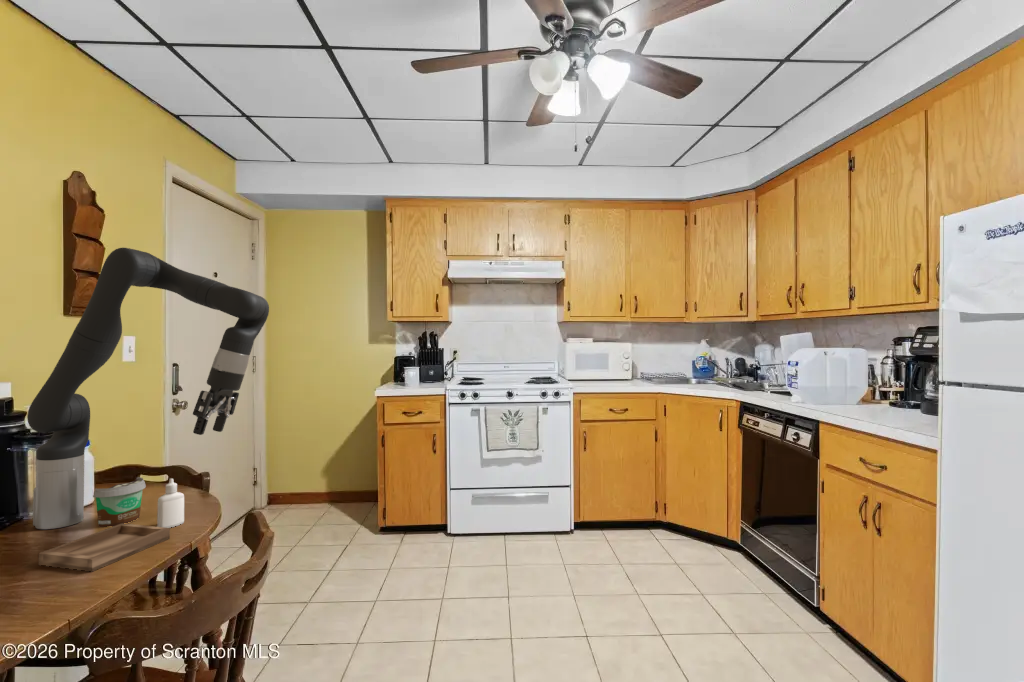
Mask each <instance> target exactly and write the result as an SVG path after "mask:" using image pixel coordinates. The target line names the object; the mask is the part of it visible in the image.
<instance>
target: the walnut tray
mask: <svg viewBox="0 0 1024 682" xmlns="http://www.w3.org/2000/svg"><path fill="white" fill-rule="evenodd" d="M170 533H171V528H164V527H157V526H154V525H153V526H152V525H142V524H131V523H128V524H124V523H122V524H119V525H116V526H113V527H107V528H105V529H103V530H100V531H97V532H94V533H91V534H89V535H86V536H83V537H80V538H77V539H74V540H72V541H69V542H65V543H63V544H61V545H57V546H55V547H53V548H49V549H46V550H44V551H41V552H39V553H38V566H41V565H46V566H45V567H49V566H52V567H51V568H57V567H60V568H59V569H65V568H69V569H68V570H73V569H77V570H76V571H81V570H85V571H84V572H89V571H91V572H92V573H93V572H96V571H98V570H100V569H102V568H105V567H106V566H109V565H112V564H113V563H116V562H118V560H119V561H121V560H123V559H125V558H128V557H130V556H132V555H135V554H137V553H139V552H141V551H144V550H146V549H149V548H151V547H153V546H156V545H158V544H161V543H162V542H165V541H167V540H170V538H171V535H170ZM104 566H105V567H104ZM101 567H102V568H101ZM97 569H98V570H97ZM91 572H90V573H91Z"/></svg>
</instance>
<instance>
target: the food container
mask: <svg viewBox="0 0 1024 682" xmlns="http://www.w3.org/2000/svg"><path fill="white" fill-rule="evenodd" d="M146 487H147V485H146V482H145V480H144V478H143V477H141V476H140V477H139V476H137V477H136V480H133V481H130V482H126V483H118V484H115V485H112V486H110V487H108V488H94V491H93V495H92V498H95V503H96V514H97V516H96V517H97V523H98V524H97V525H98V526H97V527H98V528H108V527H107V526H116V525H119V524H122V523H128V522H131V521H133V520H136V519H137V518H139V519H140V517H141V516H140V514H141V507H142V500H143V499H142V497H143V490H144V489H145V488H146ZM139 516H140V517H139ZM136 521H137V520H136ZM131 523H132V522H131ZM128 524H129V523H128Z"/></svg>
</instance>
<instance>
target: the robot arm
mask: <svg viewBox="0 0 1024 682" xmlns="http://www.w3.org/2000/svg"><path fill="white" fill-rule="evenodd" d="M131 287H139V288H145V287H146V288H152V289H153V288H154V289H158V290H159V289H160V290H165V291H168V292H171V293H175V294H177V295H179V296H181V297H183V298H184V299H185V300H188V301H190V302H192V303H195V304H198V305H200V306H203V307H205V308H208V309H209V308H210V309H212V310H214V311H215V310H217V311H220V312H222V313H225V314H227V315H229V316H232V317H235V318H237V321H236V323H235V325H234V326H230V327H227V328H226V330H225V331H224V333H223V334H222V338H221V341H220V344H219V347H218V350H217V352H216V353H215V356H214V357H213V362H212V364H211V367H210V370H209V373H208V377H207V379H206V384H207V385H208V386H210V389H209V391H207V390H201V391H200V393H199V396H198V399H197V401H196V403H195V406H194V409H193V411H192V415H193V416H195V417H196V418H197V419H196V422H195V425H194V427H193V430H192V431H193V434H195V435H199V436H202V435H204V433H205V431H206V427H207V425H208V422H209V418H211V415H212V414H214V413H215V414H216V413H217V415H216V417H215V421H214V424H213V427H212V431H213V432H217V433H218V432H219V433H221V432H223V431H224V429H225V428H224V427H225V425H226V422H227V418H229V417H230V416H233V415H234V413H235V410H236V405H237V403H238V399H239V396H240V393H239V392H236V391H240V390H241V386H242V384H243V381H244V377H245V375H246V374H245V373H246V371H247V368H248V365H249V359H250V355H251V352H252V349H253V346H254V343H255V339H256V338H257V337H258V335H259V333H260V332H261V331H262V328H264V325H265V323H266V322H267V320H268V317H269V314H270V306H269V305H270V304H269V303H268V301H267V299H266V298H264V297H263V296H260V295H258V294H255V293H254V292H250V291H248V290H244V289H242V288H238V287H234V286H230V285H227V284H226V283H223V282H220V281H217V280H214V279H211V278H208V277H206V276H202V275H198V274H195V273H191V272H188V271H185V270H183V269H181V268H179V267H176V266H173V265H172V264H170V263H168V262H167V261H164V260H162V259H161V258H159V257H157V256H156V255H153V254H152V253H149V252H147V251H141V250H138V249H134V248H129V247H118V248H115V249H114V250H112V251H111V252H110V253H109V254H108V256H107V257H106V259H105V261H104V263H103V265H102V268H101V270H100V273H99V276H98V279H97V282H96V284H95V287H94V289H93V293H92V294H91V296H90V299H89V301H88V302H87V305H86V307H85V310H84V312H83V314H82V316H81V317H80V318H79V322H78V323H77V324H76V326H75V328H74V330H73V332H72V333H71V336H70V337H69V339H68V342H67V344H66V347H65V349H64V351H62V353H61V356H60V357H59V359H58V362H57V363H56V365H54V368H53V370H52V372H51V374H49V375H50V376H49V377H48V378H47V380H46V381H45V382H44V384H43V385H42V387H41V389H40V390H39V392H38V393H37V394H36V396H35V397H34V398H33V399H32V401H31V403H30V405H29V407H28V411H27V418H26V419H27V423H28V425H29V427H30V428H31V430H33V431H35V432H36V433H37V432H38V433H53V434H52V436H51V437H50V439H48V440H47V441H46V442H45V443H43V444H42V445H40V446H39V447H38V448H37V449H36V457H35V459H36V463H35V465H36V467H35V468H36V470H35V472H36V473H35V479H36V480H35V487H34V488H33V494H32V495H33V497H32V501H33V502H32V503H33V505H32V510H33V511H32V526H33V527H34V526H35V529H37V530H52V529H60V528H65V527H68V526H69V527H70V526H72V525H75V524H78V523H81V522H82V521H83V520H84V508H85V507H84V506H85V449H86V446H87V445H88V442H89V437H90V427H91V407H90V404H89V401H88V400H87V398H86V397H85V396H83V395H82V394H80V393H76V392H77V390H78V389H79V387H80V386H81V385H82V384H83V383H84V382H85V381H86V380H87V379H88V378H89V377H91V376H92V375H93V374H95V373H96V372H97V371H98V370H99V369H101V367H103V366H104V365H105V364H106V363H107V362H108V361H109V360H110V358H111V357H112V356H113V354H114V352H115V350H116V348H117V346H118V344H119V342H120V339H121V338H122V334H123V324H122V317H121V315H122V314H121V310H122V309H121V307H122V304H123V302H124V298H125V297H126V295H127V293H128V291H129V290H130V288H131Z"/></svg>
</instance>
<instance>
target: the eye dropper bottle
mask: <svg viewBox="0 0 1024 682" xmlns="http://www.w3.org/2000/svg"><path fill="white" fill-rule="evenodd" d="M156 516H157V520H156V523H157V525H156V527H164V528H170V529H172V528H176V527H179V526H181V525H183V524H184V523H185V494H184V493H182V492H180V491H178V483H176V482H174V478H169V482H168V483H166V484H165V493H164V494H163V495H160V496H159V497H158V499H157V515H156ZM180 524H181V525H180ZM175 526H176V527H175ZM171 527H172V528H171Z"/></svg>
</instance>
